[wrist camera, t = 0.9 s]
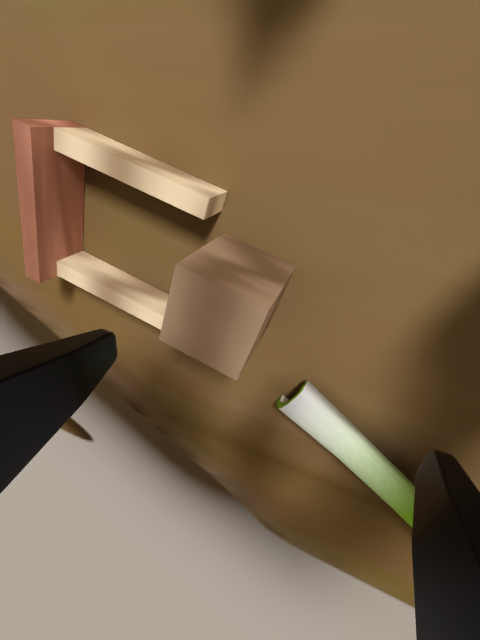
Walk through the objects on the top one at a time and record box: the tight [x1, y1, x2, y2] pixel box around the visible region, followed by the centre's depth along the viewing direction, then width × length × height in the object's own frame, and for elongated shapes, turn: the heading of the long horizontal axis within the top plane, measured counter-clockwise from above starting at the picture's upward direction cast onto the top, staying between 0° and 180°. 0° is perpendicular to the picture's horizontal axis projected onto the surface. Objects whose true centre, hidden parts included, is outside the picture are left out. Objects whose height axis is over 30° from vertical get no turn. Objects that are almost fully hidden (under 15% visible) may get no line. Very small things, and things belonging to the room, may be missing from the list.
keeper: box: [159, 233, 296, 381], centre depth 19 cm, size 5×5×6 cm
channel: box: [12, 118, 227, 330], centre depth 21 cm, size 11×10×4 cm
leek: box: [276, 381, 415, 527], centre depth 24 cm, size 6×7×30 cm
